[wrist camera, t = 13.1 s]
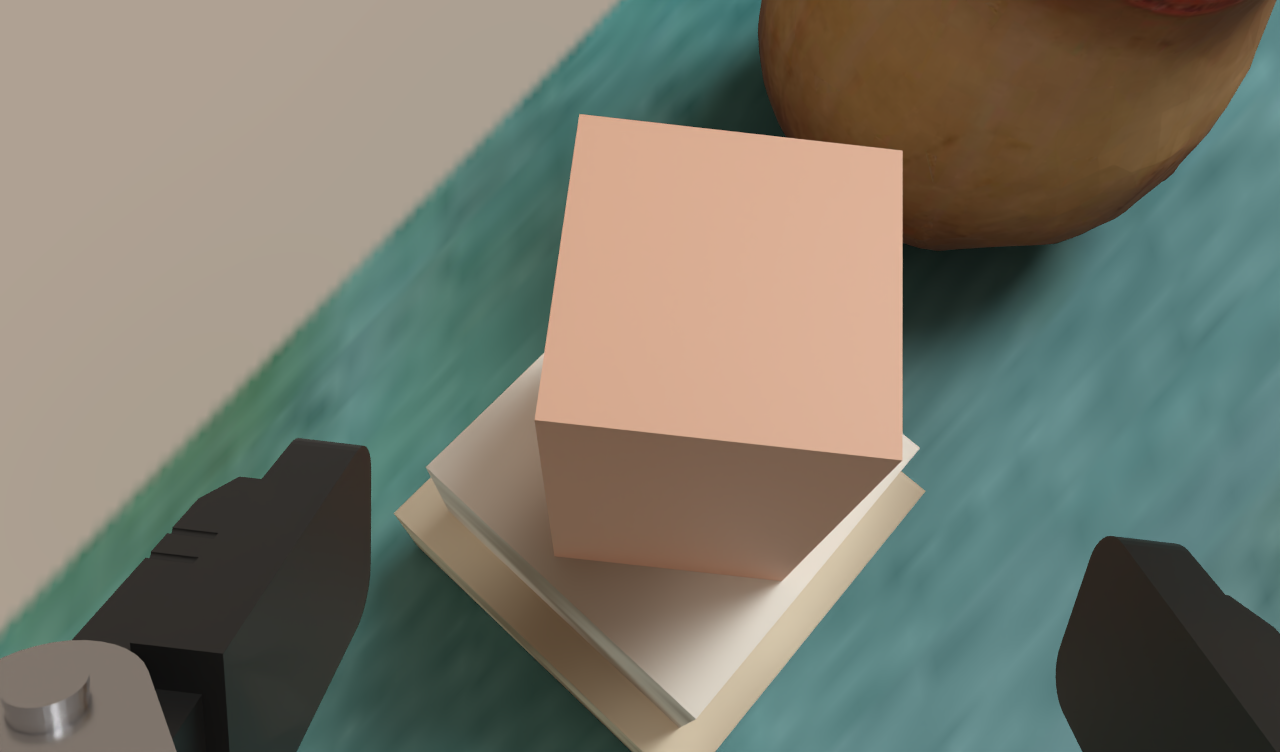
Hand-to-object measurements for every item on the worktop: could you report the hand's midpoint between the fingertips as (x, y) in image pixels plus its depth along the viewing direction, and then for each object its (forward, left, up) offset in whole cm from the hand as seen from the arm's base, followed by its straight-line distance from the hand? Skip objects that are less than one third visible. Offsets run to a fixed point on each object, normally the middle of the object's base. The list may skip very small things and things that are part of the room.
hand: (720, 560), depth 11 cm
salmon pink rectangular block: (+3, -4, -11) cm, 12 cm away
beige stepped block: (+3, -4, -19) cm, 19 cm away
